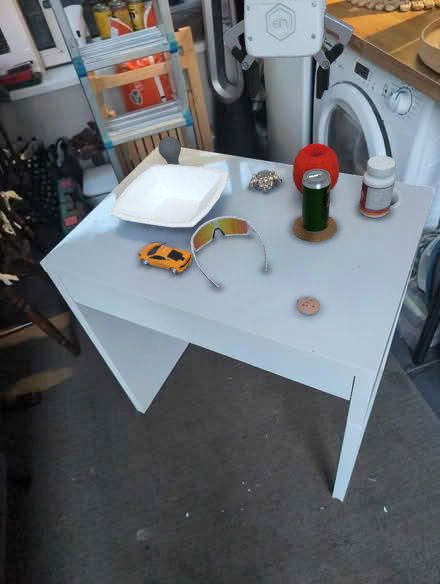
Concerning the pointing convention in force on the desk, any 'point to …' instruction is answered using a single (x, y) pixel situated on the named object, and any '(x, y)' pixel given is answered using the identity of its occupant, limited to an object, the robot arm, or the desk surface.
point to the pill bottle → (377, 186)
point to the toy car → (165, 257)
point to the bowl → (171, 195)
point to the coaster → (310, 237)
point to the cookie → (308, 305)
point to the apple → (315, 163)
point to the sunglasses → (227, 228)
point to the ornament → (265, 180)
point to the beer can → (315, 200)
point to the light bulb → (170, 149)
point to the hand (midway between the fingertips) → (287, 94)
